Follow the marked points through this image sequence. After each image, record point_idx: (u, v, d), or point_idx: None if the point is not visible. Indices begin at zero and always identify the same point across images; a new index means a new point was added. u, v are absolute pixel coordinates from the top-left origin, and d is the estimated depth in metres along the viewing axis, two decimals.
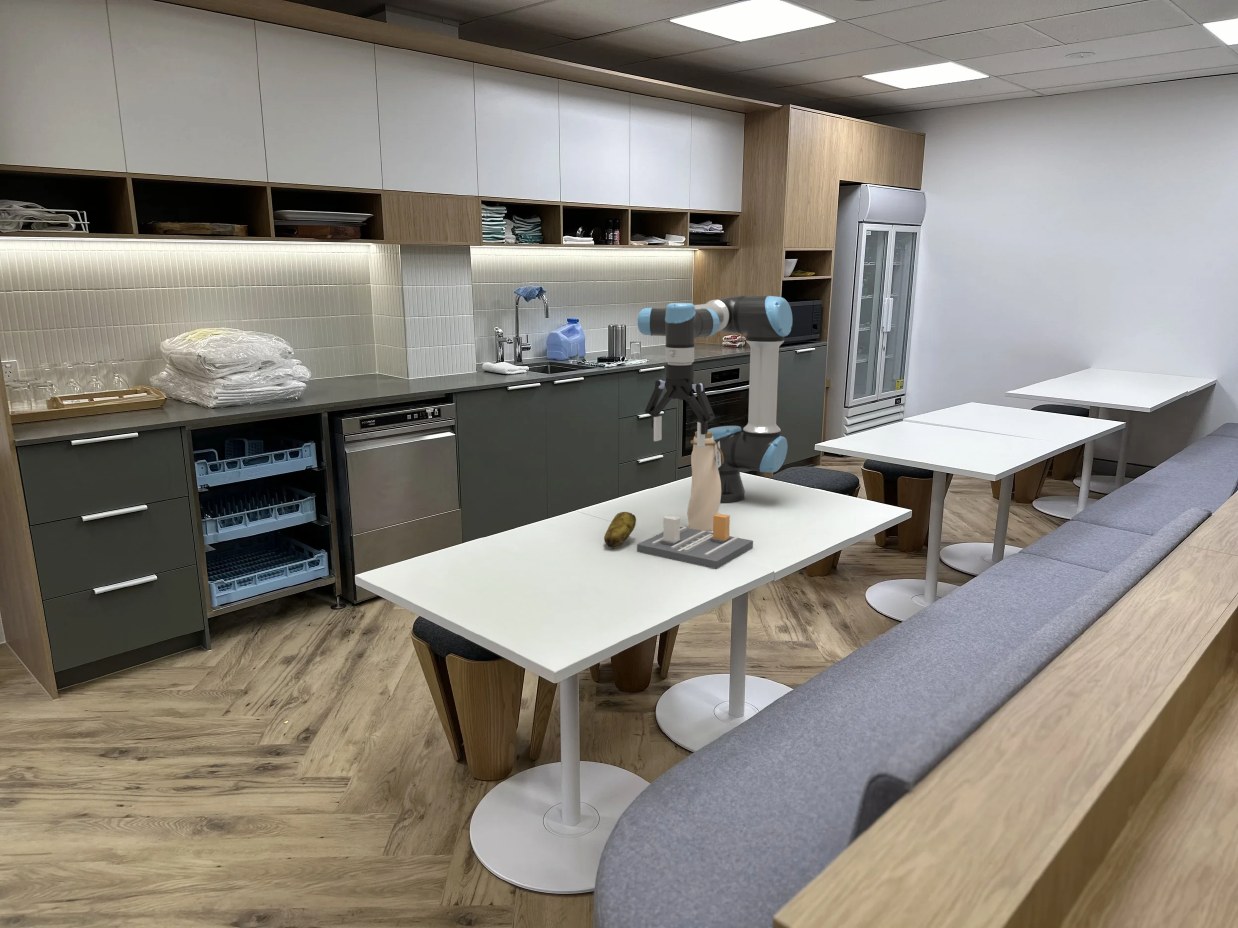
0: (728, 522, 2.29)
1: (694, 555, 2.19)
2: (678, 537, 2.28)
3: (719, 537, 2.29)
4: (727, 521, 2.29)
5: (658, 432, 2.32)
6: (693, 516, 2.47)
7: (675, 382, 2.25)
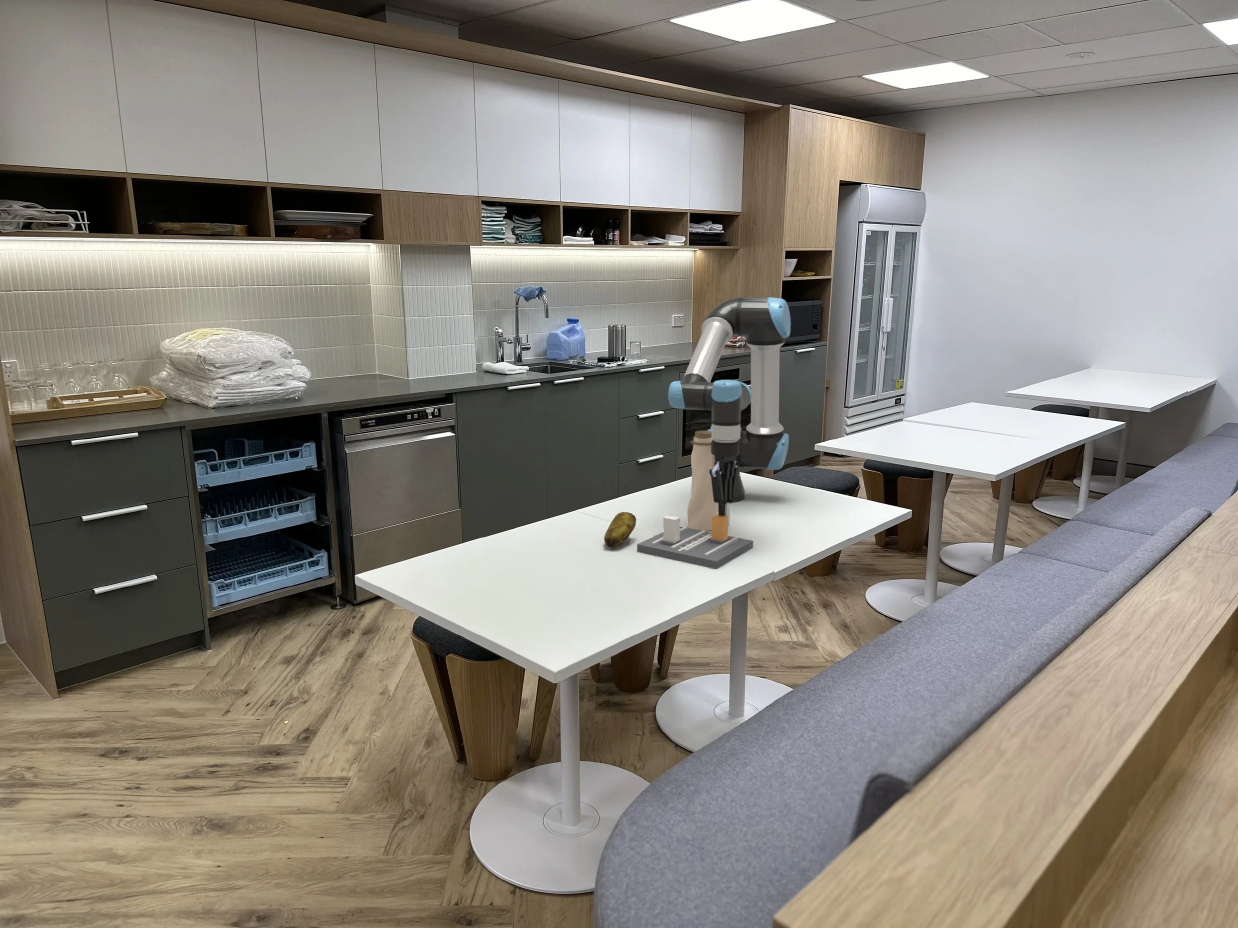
0: (727, 523, 2.28)
1: (694, 555, 2.19)
2: (678, 537, 2.28)
3: (718, 538, 2.29)
4: (726, 522, 2.28)
5: None
6: (693, 516, 2.47)
7: None
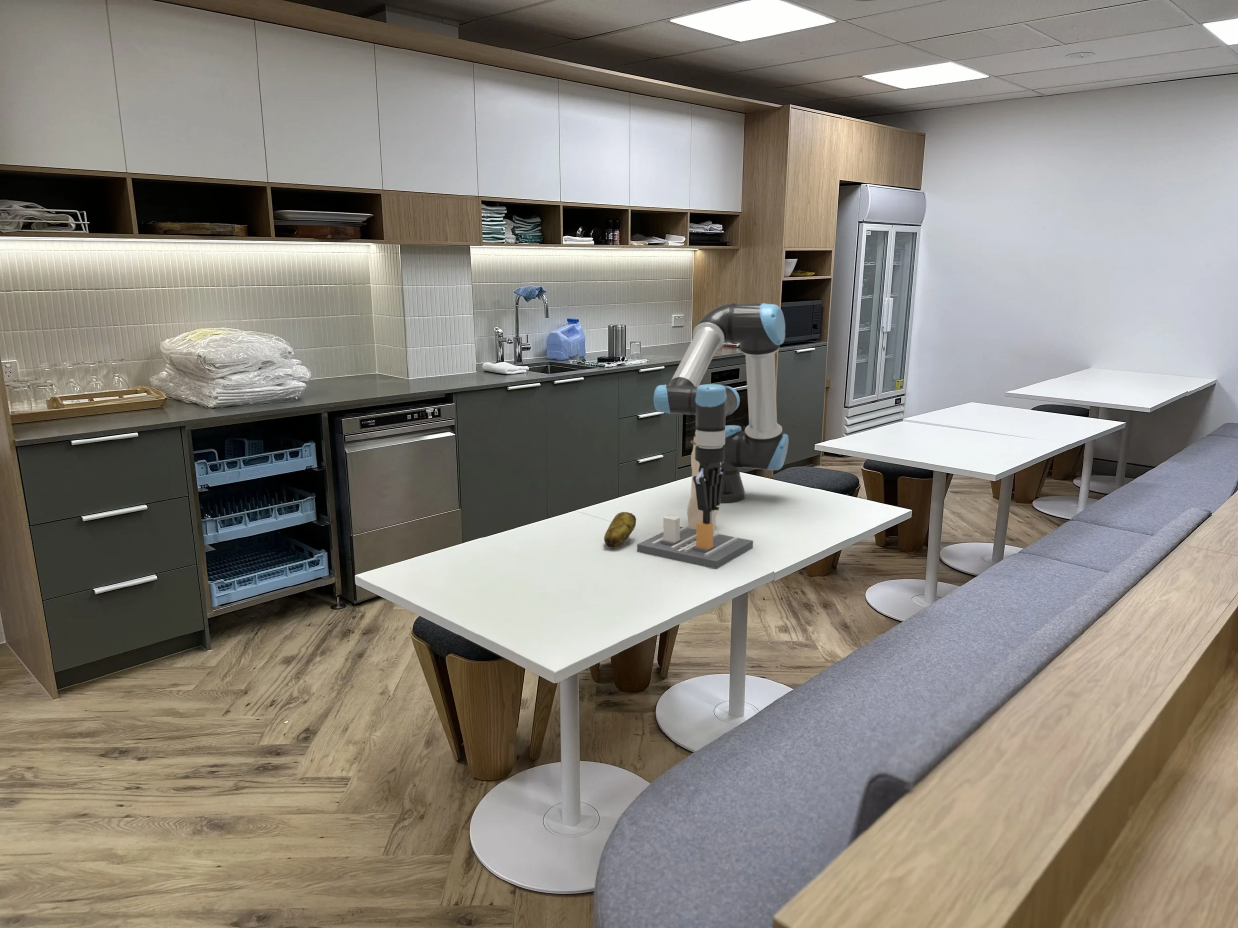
0: (712, 530, 2.22)
1: (694, 555, 2.19)
2: (678, 537, 2.28)
3: (702, 546, 2.22)
4: (711, 529, 2.21)
5: None
6: (693, 516, 2.47)
7: None
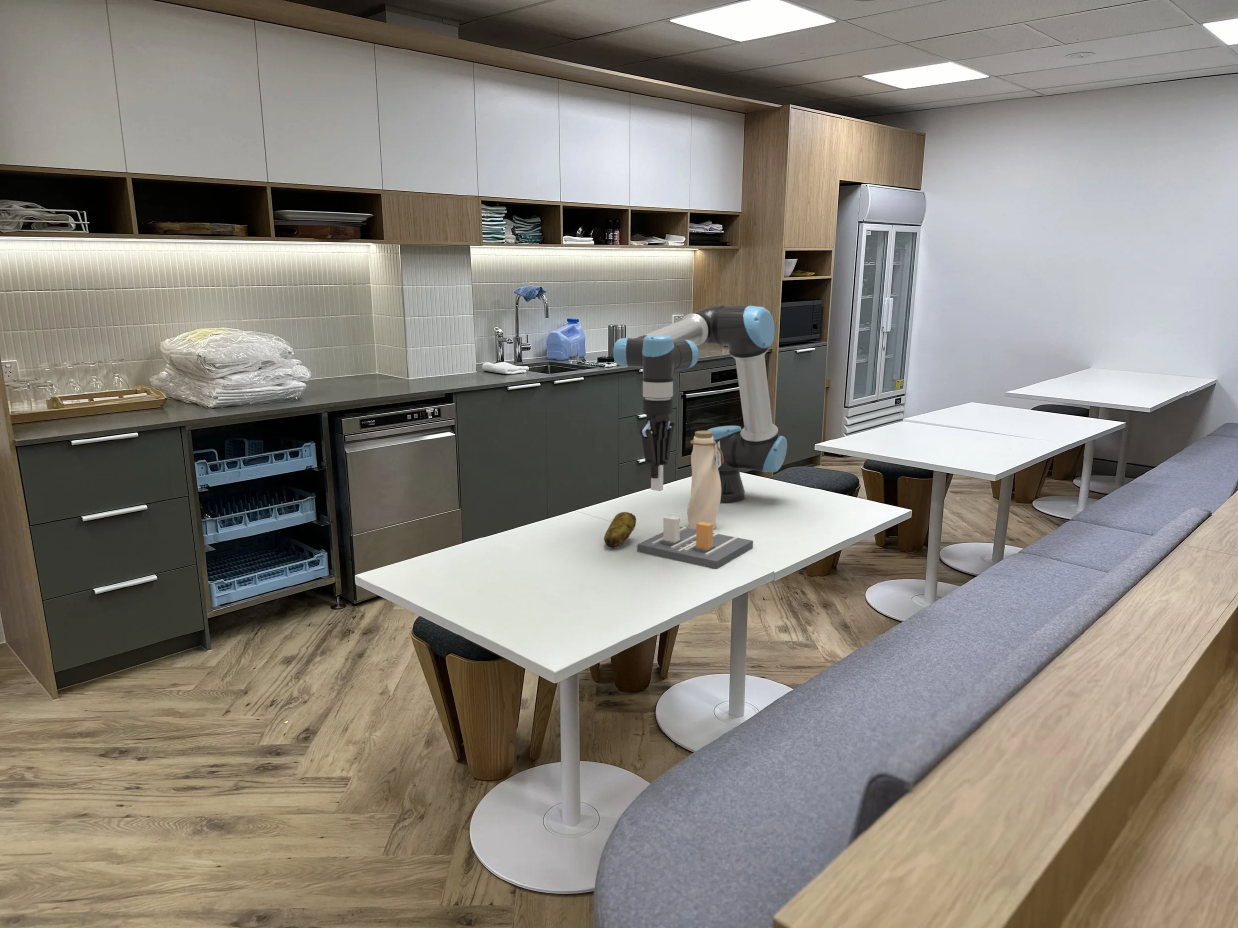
0: (711, 530, 2.22)
1: (694, 555, 2.19)
2: (678, 537, 2.28)
3: (702, 546, 2.22)
4: (710, 529, 2.21)
5: None
6: (693, 516, 2.47)
7: None
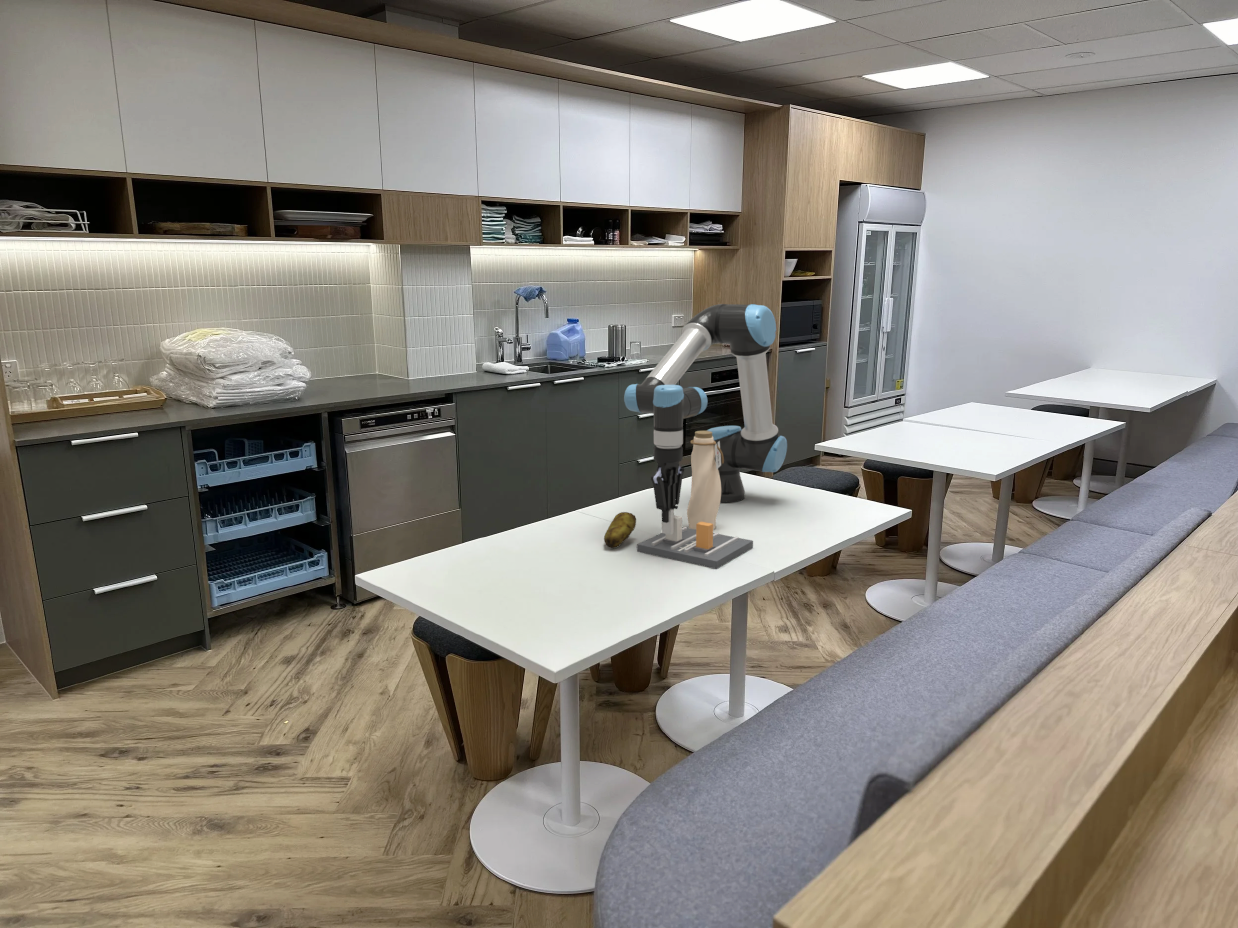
0: (711, 530, 2.22)
1: (694, 555, 2.19)
2: (680, 536, 2.29)
3: (702, 546, 2.22)
4: (710, 529, 2.21)
5: None
6: (693, 516, 2.47)
7: None
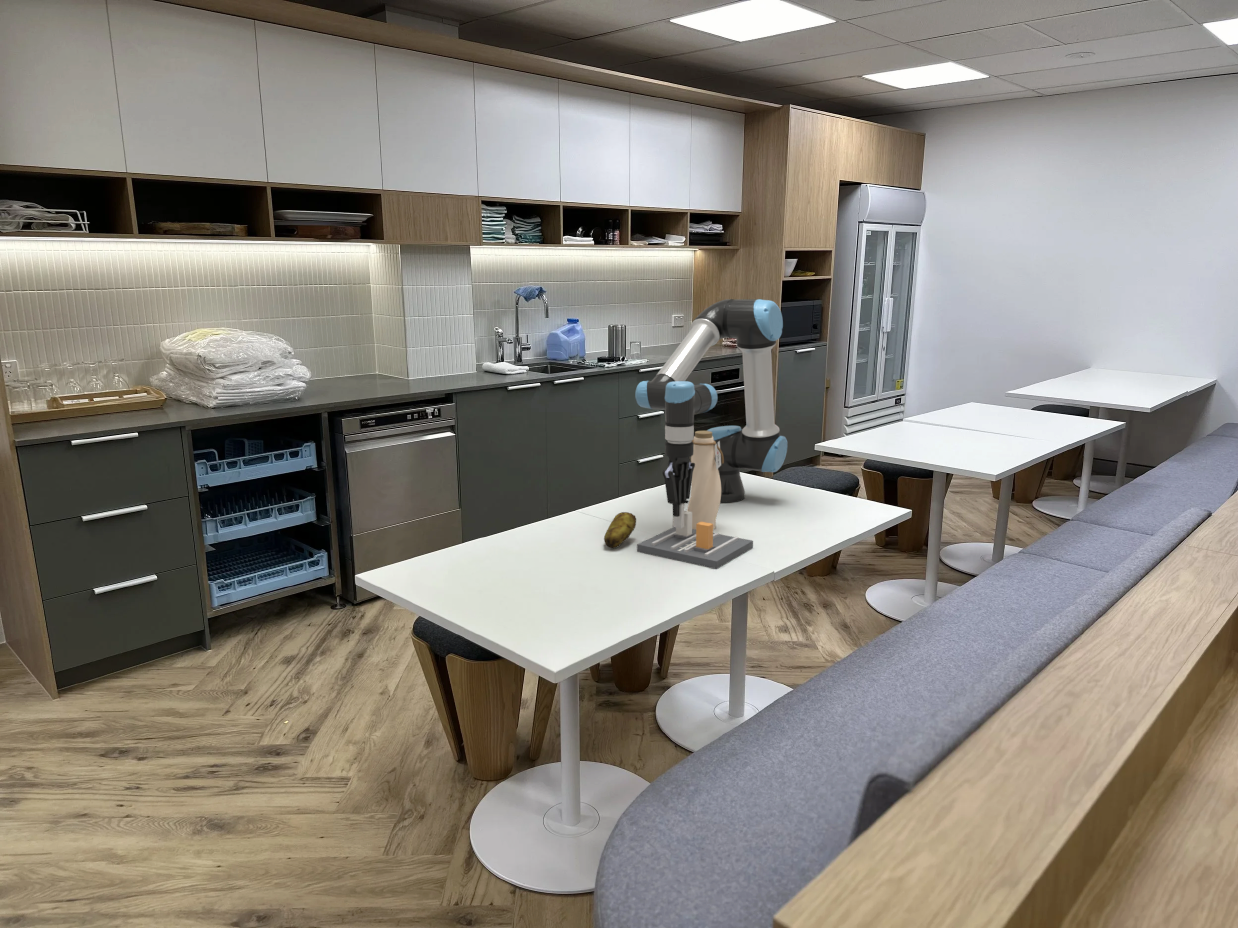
0: (711, 530, 2.22)
1: (694, 555, 2.19)
2: (691, 531, 2.34)
3: (702, 546, 2.22)
4: (710, 529, 2.21)
5: None
6: (693, 516, 2.47)
7: None
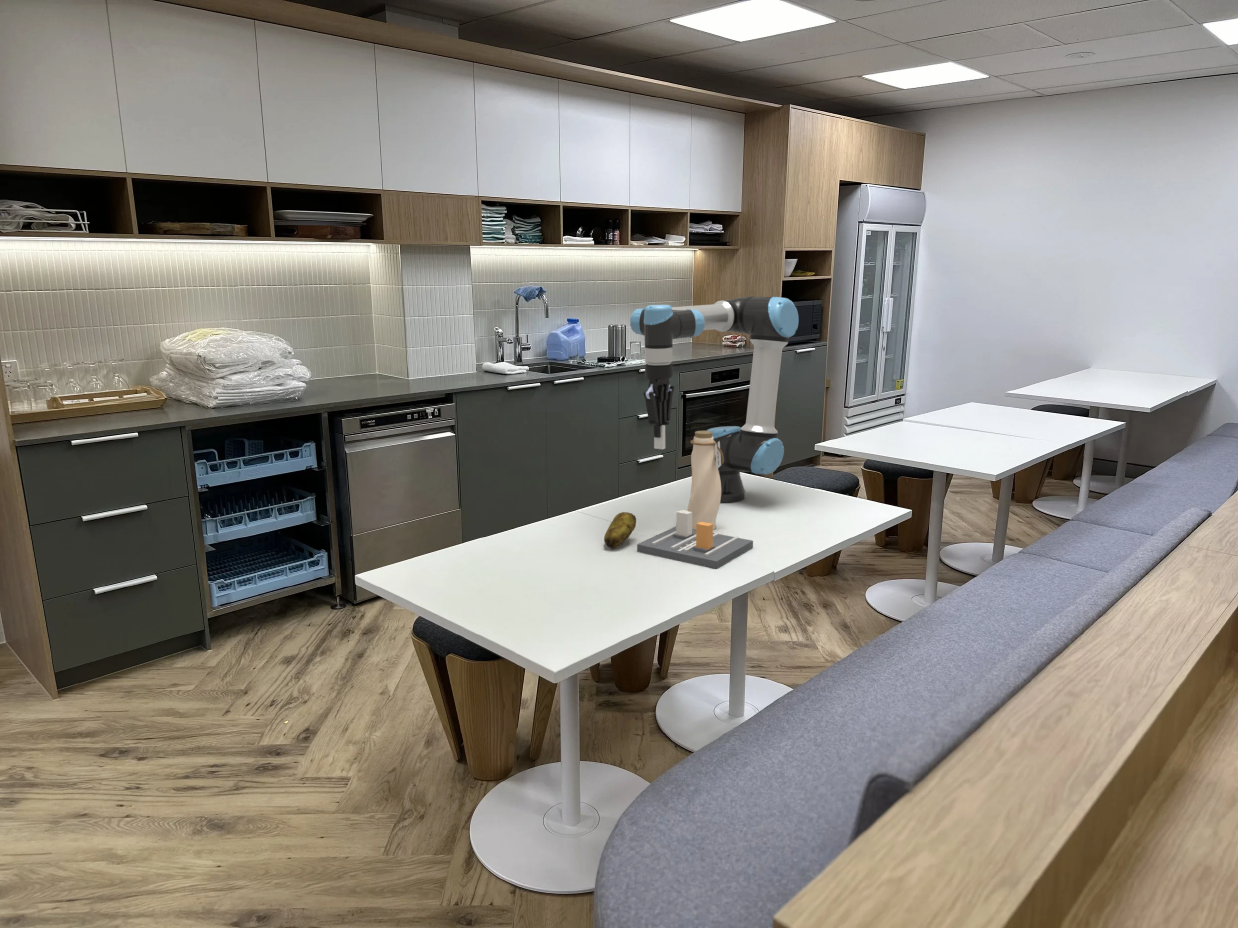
0: (711, 530, 2.22)
1: (694, 555, 2.19)
2: (691, 531, 2.34)
3: (702, 546, 2.22)
4: (710, 529, 2.21)
5: None
6: (693, 516, 2.47)
7: None
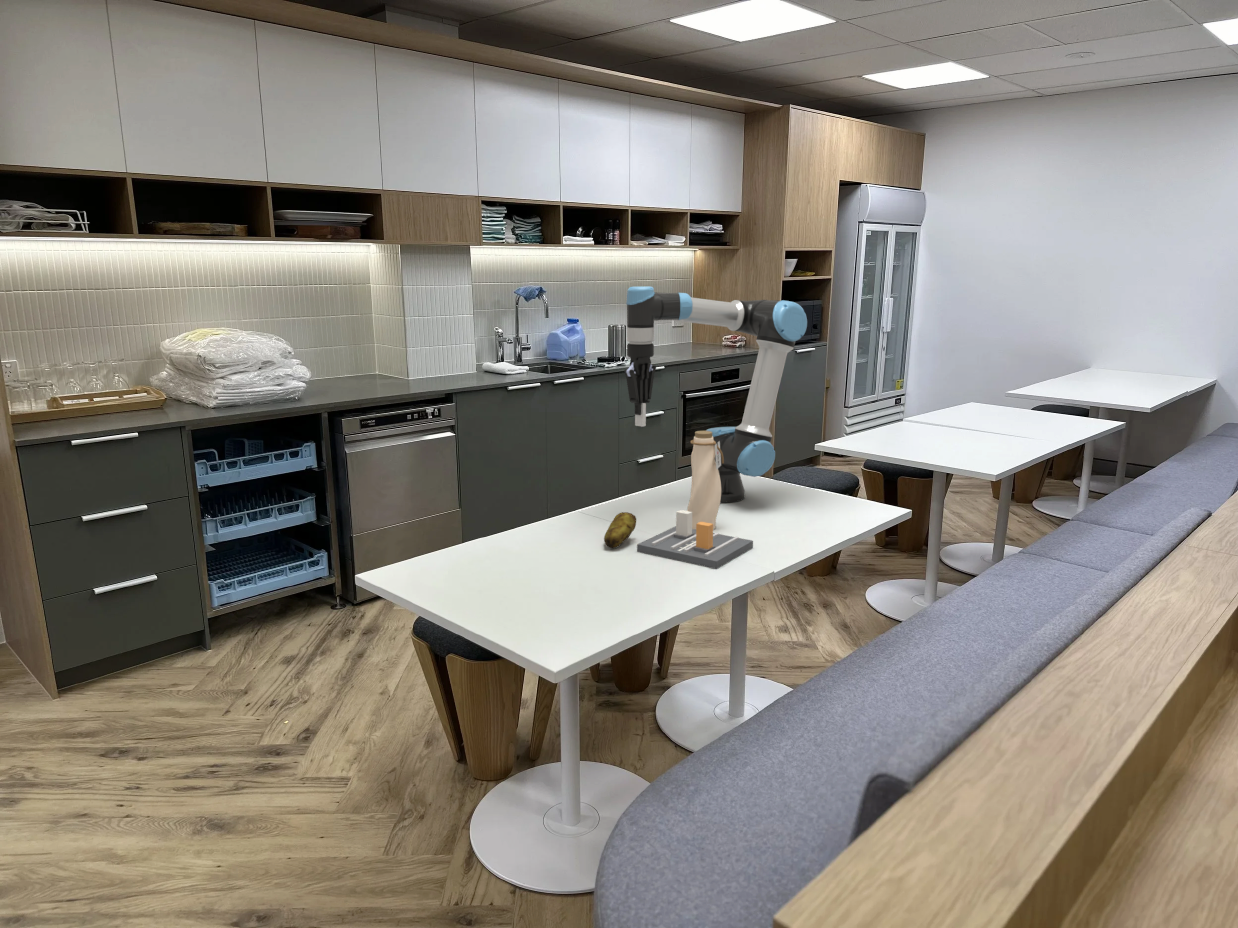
0: (711, 530, 2.22)
1: (694, 555, 2.19)
2: (691, 531, 2.34)
3: (702, 546, 2.22)
4: (710, 529, 2.21)
5: None
6: (693, 516, 2.47)
7: None
